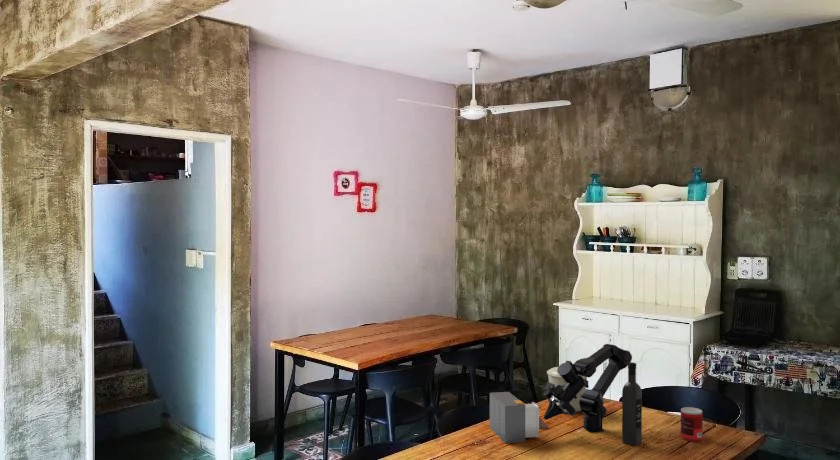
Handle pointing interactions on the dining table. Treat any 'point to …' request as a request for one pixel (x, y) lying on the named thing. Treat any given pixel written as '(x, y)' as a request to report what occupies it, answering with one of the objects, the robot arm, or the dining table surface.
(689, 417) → the canned food
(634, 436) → the wine bottle
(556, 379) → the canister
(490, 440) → the dining table surface
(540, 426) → the wooden tablet
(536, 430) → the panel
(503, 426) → the small drawer cabinet
